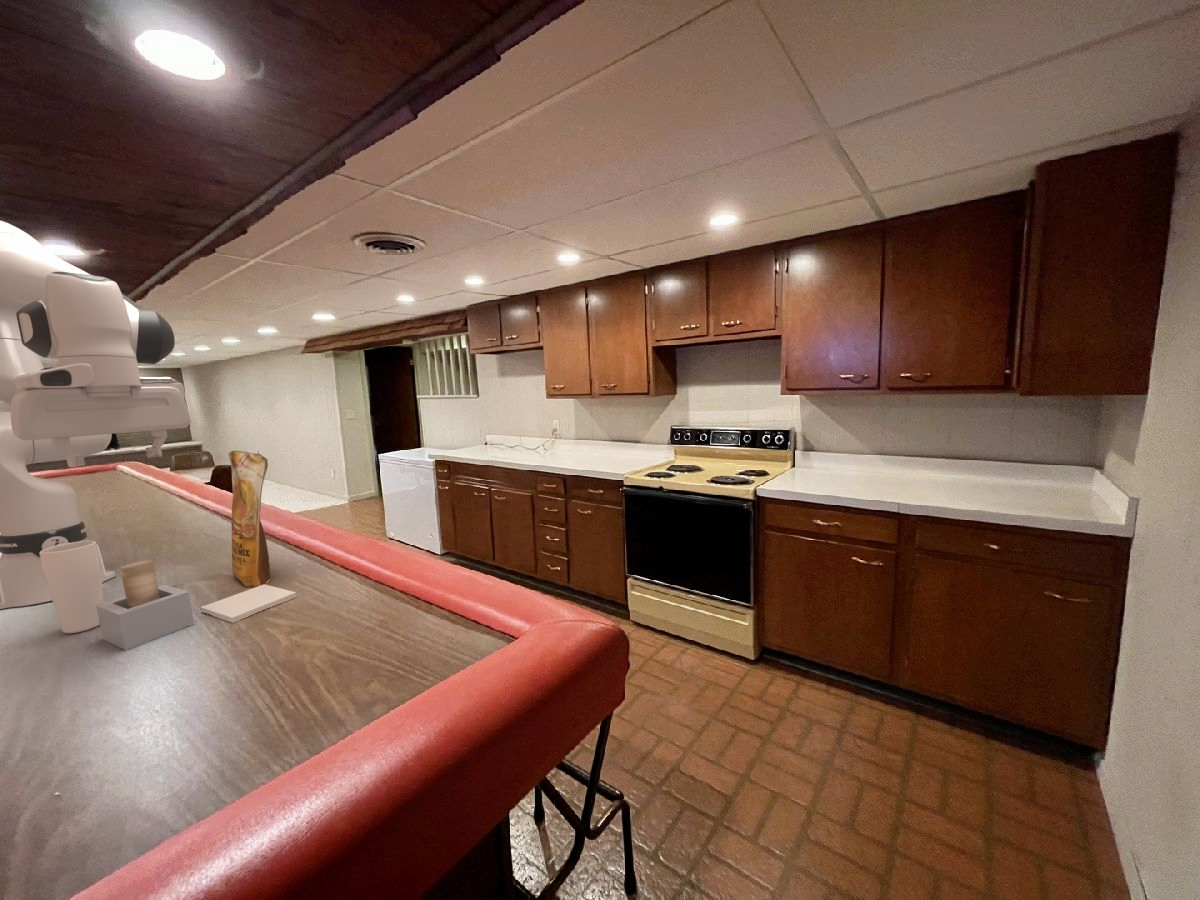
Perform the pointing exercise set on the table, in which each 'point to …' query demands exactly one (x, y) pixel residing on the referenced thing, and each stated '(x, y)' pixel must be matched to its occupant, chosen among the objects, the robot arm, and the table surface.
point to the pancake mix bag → (248, 519)
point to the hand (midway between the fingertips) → (118, 461)
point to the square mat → (248, 603)
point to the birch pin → (140, 583)
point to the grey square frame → (145, 618)
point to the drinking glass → (74, 583)
